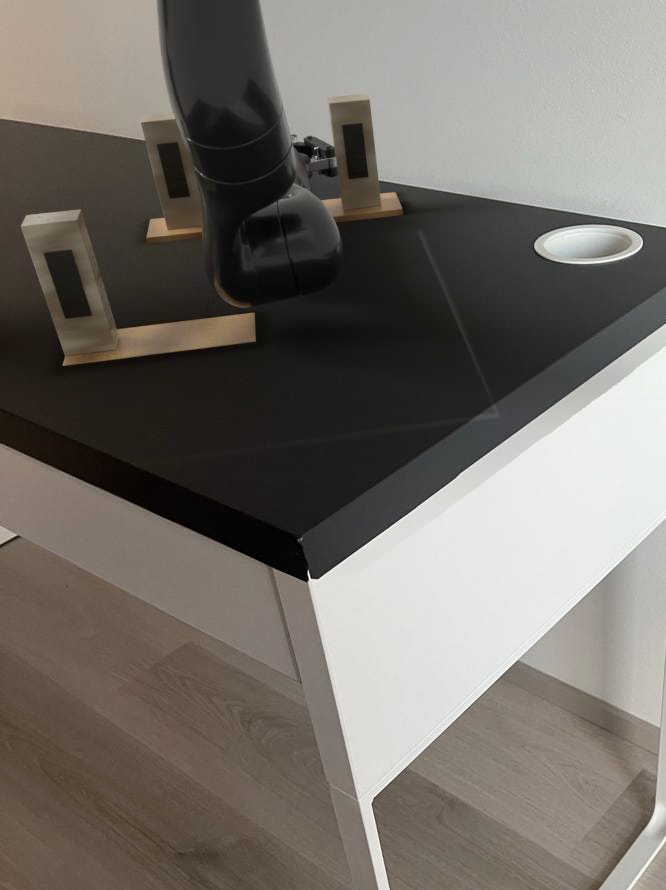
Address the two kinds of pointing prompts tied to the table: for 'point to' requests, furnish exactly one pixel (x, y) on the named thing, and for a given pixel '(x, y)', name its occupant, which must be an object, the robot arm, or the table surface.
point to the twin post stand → (355, 202)
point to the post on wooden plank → (87, 307)
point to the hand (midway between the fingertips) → (264, 143)
